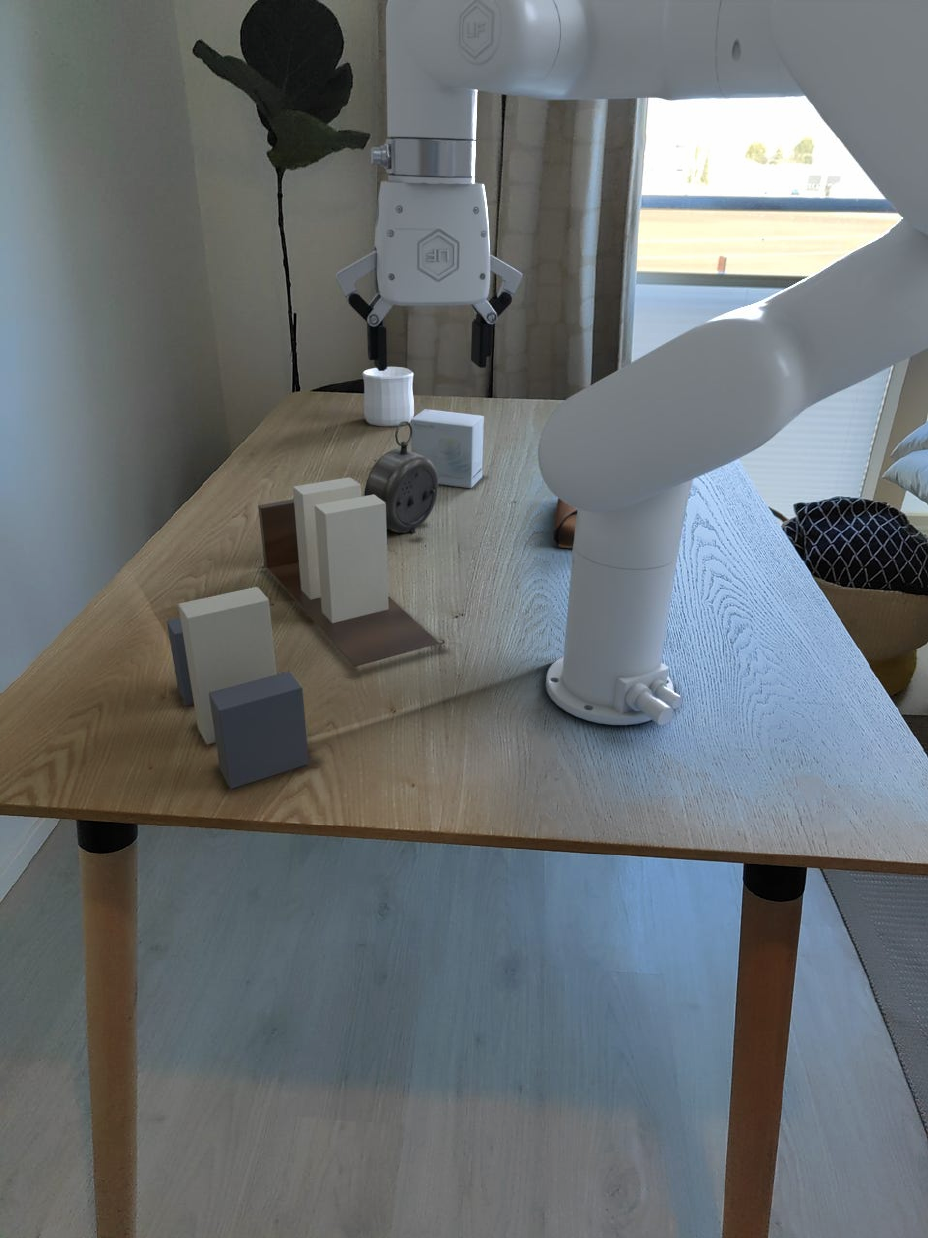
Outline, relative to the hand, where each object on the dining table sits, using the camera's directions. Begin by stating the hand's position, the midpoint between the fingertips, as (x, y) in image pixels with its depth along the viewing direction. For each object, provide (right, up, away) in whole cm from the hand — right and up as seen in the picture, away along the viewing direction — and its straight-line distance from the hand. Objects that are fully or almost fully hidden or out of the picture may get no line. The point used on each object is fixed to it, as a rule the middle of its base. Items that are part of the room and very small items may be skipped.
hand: (430, 366), depth 82 cm
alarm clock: (-5, -13, +38) cm, 40 cm away
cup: (-12, +15, +90) cm, 92 cm away
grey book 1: (-21, -31, +3) cm, 38 cm away
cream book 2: (-12, -21, +21) cm, 32 cm away
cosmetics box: (0, -1, +59) cm, 59 cm away
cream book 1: (-18, -34, -2) cm, 39 cm away
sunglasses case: (+21, -11, +43) cm, 49 cm away
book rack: (-11, -23, +19) cm, 31 cm away
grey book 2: (-14, -37, -8) cm, 40 cm away
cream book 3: (-9, -23, +16) cm, 30 cm away
